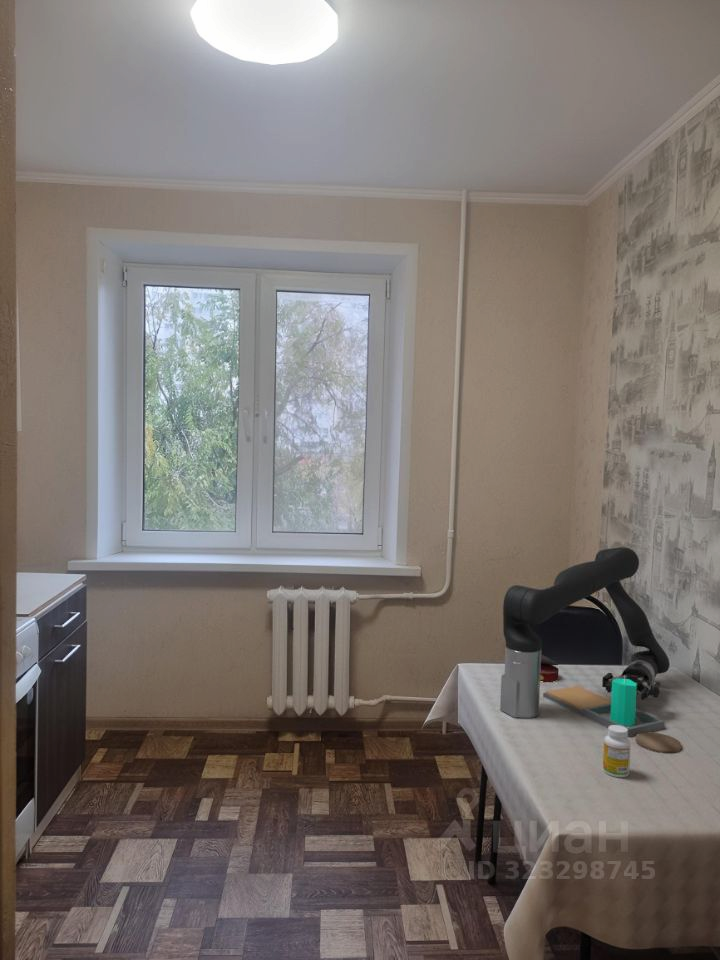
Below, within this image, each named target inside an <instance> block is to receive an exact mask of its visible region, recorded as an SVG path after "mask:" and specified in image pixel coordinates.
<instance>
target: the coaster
mask: <svg viewBox="0 0 720 960" xmlns="http://www.w3.org/2000/svg"><path fill="white" fill-rule="evenodd" d="M635 742H637V743H636V744H637V745H638V744H639V745H638V746H640V747H641V748H643V747H644V749H645V748H646V750H648V749H649V750H648V751H651V750H652V751H651V752H655V751H656V753H660V752H662V753H661V754H674V753H679V752H680V751H681V750H682V743H681V742H680V741H679V740H678V739H676V738H675V737H673V736H670V735H668V734H664V733H660V732H659V733H658V732H654V731H651V732H644V733H639V734H638V735H635Z"/></svg>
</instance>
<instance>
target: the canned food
mask: <svg viewBox="0 0 720 960" xmlns="http://www.w3.org/2000/svg"><path fill="white" fill-rule="evenodd" d="M558 665H559V663H558V662H556V661H555V660H553V659H551V658H549V657H547V656H544V654H543V655H542V654H541V670H540V681H543V682H542V683H546V682H549V683H554V682H553V681H555V682H557V681H558V680H559V668H558V667H557V666H558ZM556 680H557V681H556Z"/></svg>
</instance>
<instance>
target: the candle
mask: <svg viewBox="0 0 720 960" xmlns="http://www.w3.org/2000/svg"><path fill="white" fill-rule="evenodd" d="M636 689H637V683H635V682H633V681H631V680H630V679H625V676H624V679H615V680H613V681H612V691H611V697H610V700H611V712H610V715H609V716H610V718H609V719H610V720H612V721H614V722H617V723H619V724H621V725H623V726H625V727H633V726H635V724H636V718H635V711H636V709H637V708H636V707H637V694H636Z"/></svg>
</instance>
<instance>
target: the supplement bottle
mask: <svg viewBox="0 0 720 960" xmlns="http://www.w3.org/2000/svg"><path fill="white" fill-rule="evenodd" d="M625 727H626V726H625ZM625 727H623V726H619V725H611V726H609V727H607V730H608V731H607V735H606V736H605V737H604V740H603V757H602V758H603V759H602V761H603V762H602V769H603V772H604V773H605V774H607V775H608V776H610V777H615V778H626V777H628V776H629V775H630V766H631V764H630V763H631V740H630V739H629V737H627V736H628V729H627V728H628V727H627V728H625Z"/></svg>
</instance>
